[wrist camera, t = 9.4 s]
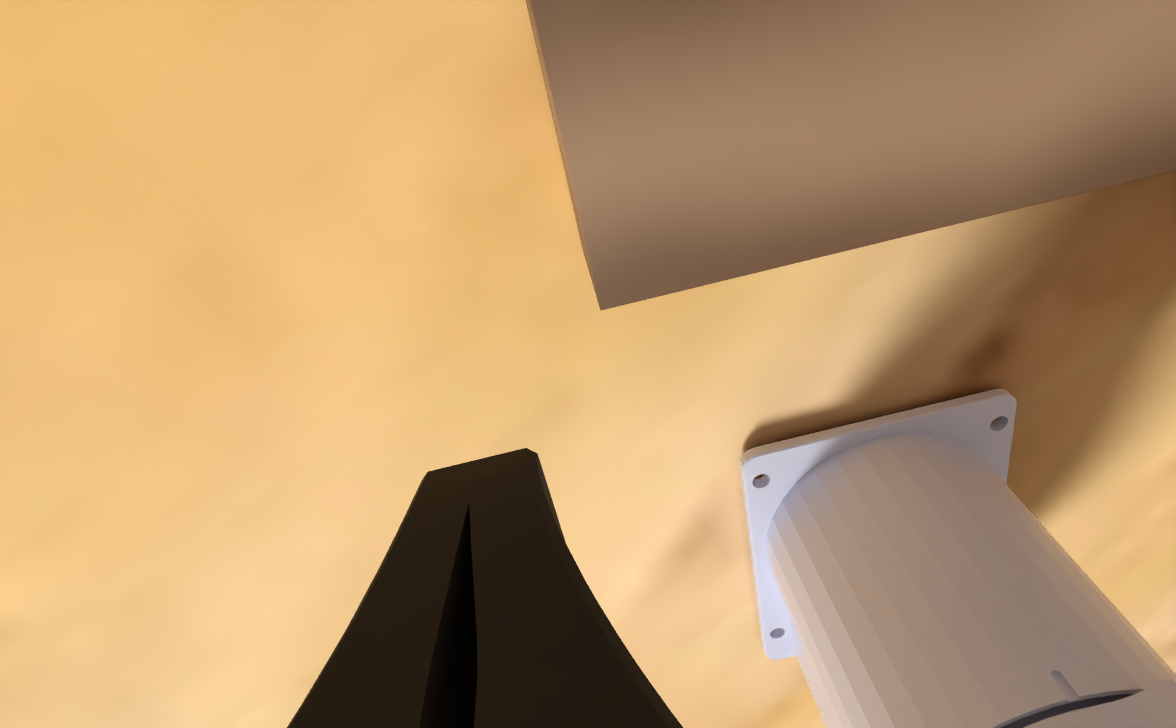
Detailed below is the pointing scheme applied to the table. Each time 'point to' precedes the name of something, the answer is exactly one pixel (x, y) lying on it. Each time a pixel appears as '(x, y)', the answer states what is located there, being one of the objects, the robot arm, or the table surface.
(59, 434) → the table surface
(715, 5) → the walnut plate
